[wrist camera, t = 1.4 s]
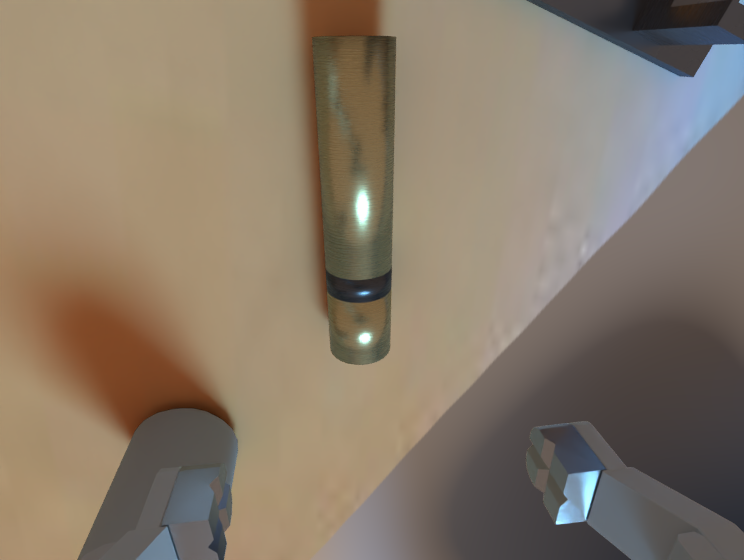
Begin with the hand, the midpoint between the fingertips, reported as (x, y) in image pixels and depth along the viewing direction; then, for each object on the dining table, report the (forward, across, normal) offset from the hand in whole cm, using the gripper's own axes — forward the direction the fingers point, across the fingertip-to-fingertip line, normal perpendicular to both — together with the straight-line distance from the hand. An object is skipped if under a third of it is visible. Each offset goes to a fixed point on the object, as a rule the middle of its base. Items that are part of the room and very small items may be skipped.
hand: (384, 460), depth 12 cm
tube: (+18, -1, -2) cm, 18 cm away
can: (+19, +12, +16) cm, 27 cm away
